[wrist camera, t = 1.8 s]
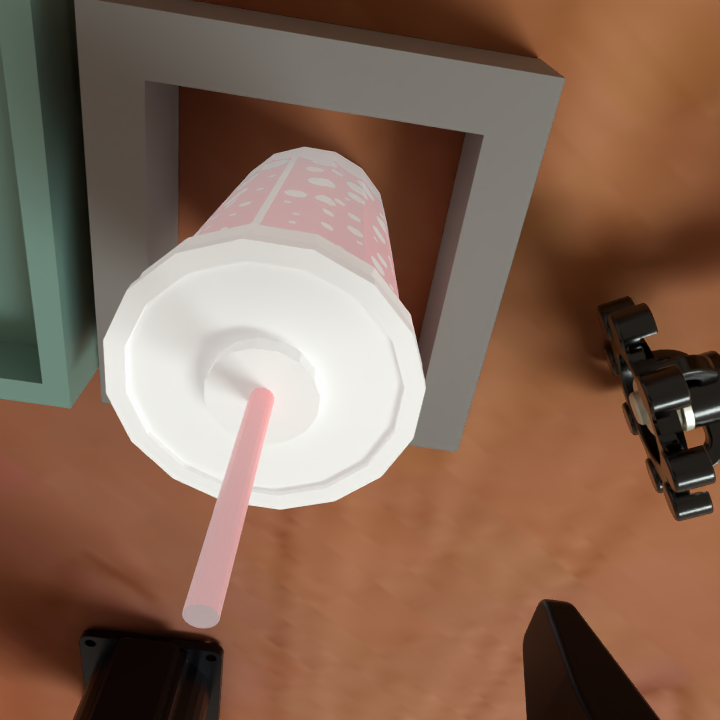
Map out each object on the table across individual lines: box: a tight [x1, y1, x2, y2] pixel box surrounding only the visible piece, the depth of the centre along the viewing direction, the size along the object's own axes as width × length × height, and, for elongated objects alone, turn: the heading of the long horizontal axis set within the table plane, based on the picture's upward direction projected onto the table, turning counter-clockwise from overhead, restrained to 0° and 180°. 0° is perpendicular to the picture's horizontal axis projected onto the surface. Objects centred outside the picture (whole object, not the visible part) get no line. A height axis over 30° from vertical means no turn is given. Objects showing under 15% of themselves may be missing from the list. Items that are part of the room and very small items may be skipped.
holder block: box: [74, 0, 565, 452], centre depth 19 cm, size 11×11×3 cm
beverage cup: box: [103, 147, 426, 628], centre depth 14 cm, size 6×6×14 cm
